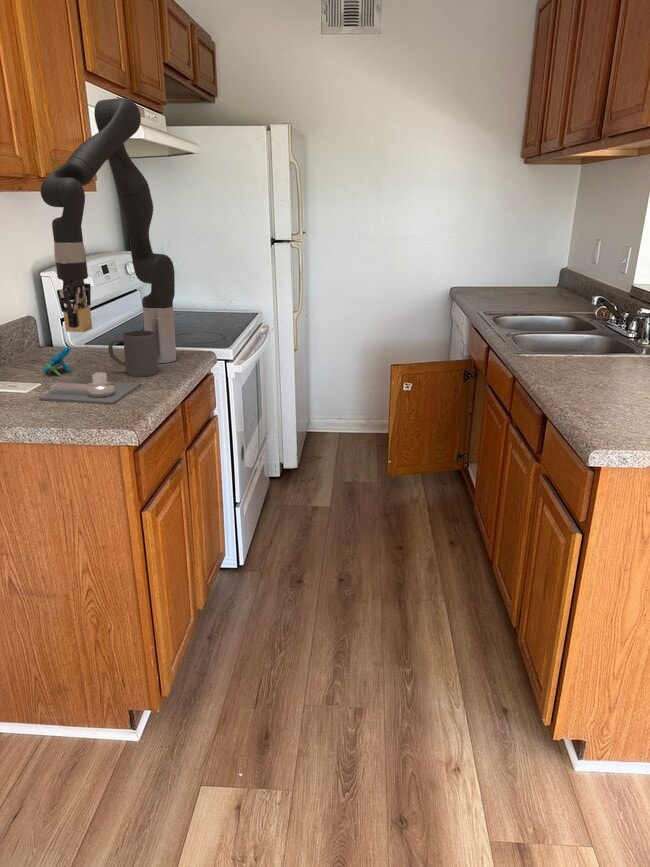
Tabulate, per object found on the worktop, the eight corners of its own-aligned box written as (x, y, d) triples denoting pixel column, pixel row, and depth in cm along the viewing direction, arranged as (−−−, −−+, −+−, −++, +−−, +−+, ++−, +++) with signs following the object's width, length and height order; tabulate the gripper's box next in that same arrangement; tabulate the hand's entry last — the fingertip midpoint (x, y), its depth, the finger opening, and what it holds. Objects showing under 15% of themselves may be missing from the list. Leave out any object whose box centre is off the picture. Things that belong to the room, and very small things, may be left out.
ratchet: (61, 387, 173) (58, 368, 171) (119, 391, 171) (117, 371, 169) (47, 395, 166) (44, 374, 164) (108, 398, 164) (106, 378, 163)
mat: (73, 381, 181) (73, 379, 181) (141, 385, 179) (141, 383, 179) (39, 400, 164) (38, 397, 164) (113, 404, 162) (113, 402, 162)
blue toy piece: (56, 361, 196) (72, 340, 191) (71, 375, 197) (87, 354, 193) (34, 375, 186) (51, 353, 182) (50, 389, 188) (67, 368, 183)
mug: (159, 369, 196) (156, 330, 192) (156, 376, 188) (153, 336, 183) (113, 369, 194) (109, 330, 190) (108, 377, 186) (104, 336, 182)
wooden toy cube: (75, 327, 175) (72, 305, 173) (92, 328, 175) (89, 306, 172) (65, 331, 170) (62, 308, 168) (83, 332, 170) (81, 309, 168)
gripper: (70, 257, 173) (78, 320, 179) (42, 262, 160) (51, 330, 166) (97, 258, 172) (103, 321, 178) (70, 263, 159) (79, 331, 165)
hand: (78, 325), depth 172 cm, fingers closed on wooden toy cube, 5 cm apart
